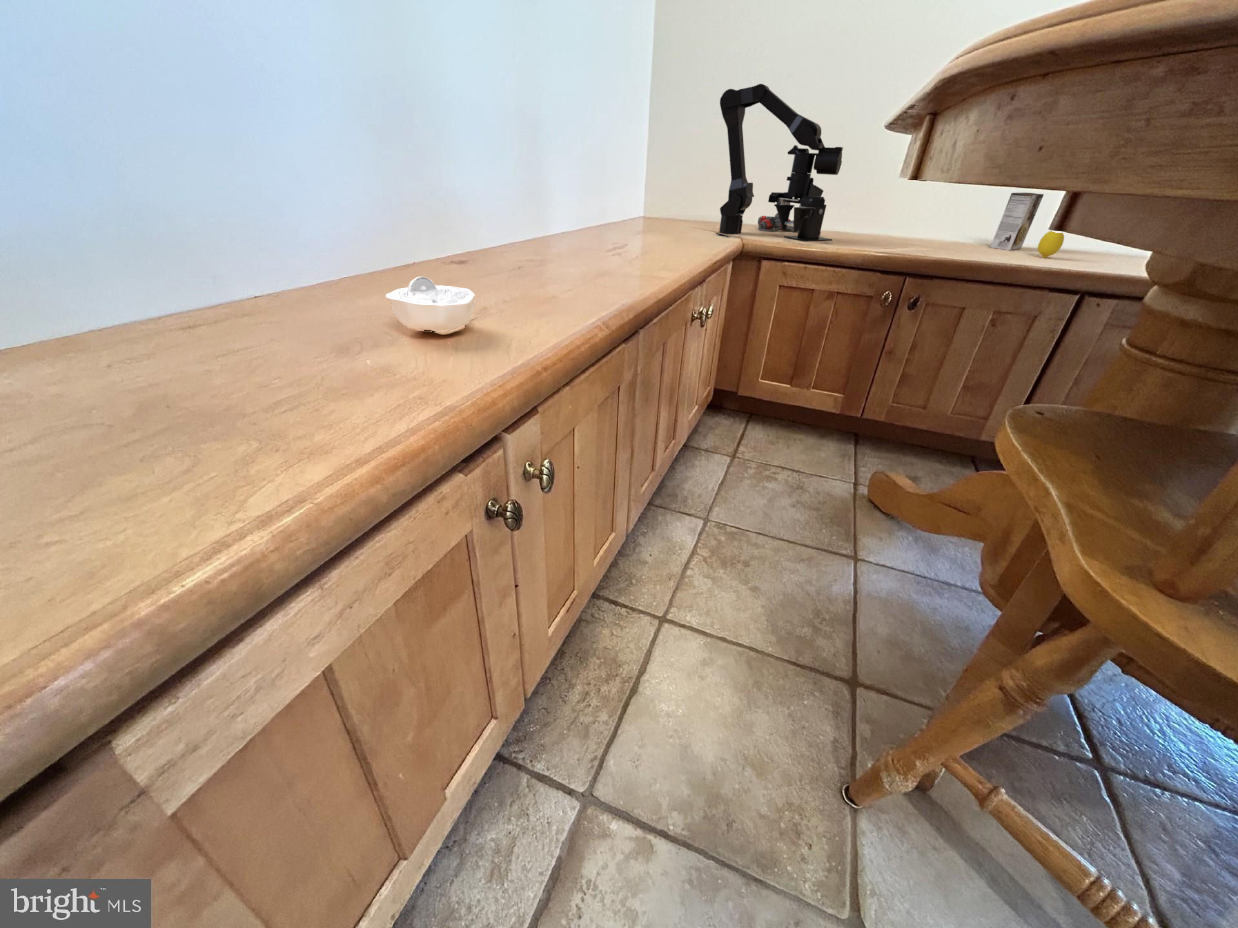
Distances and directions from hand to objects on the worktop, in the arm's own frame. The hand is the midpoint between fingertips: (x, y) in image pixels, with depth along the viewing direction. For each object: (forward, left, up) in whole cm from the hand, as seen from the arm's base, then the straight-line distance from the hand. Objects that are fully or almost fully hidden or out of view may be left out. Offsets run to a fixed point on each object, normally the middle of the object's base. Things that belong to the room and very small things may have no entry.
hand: (789, 231), depth 155 cm
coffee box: (+72, -24, -3) cm, 76 cm away
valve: (+13, +18, -3) cm, 23 cm away
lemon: (+63, -41, -3) cm, 75 cm away
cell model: (-114, -62, -3) cm, 130 cm away
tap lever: (+5, 0, +3) cm, 6 cm away
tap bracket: (+8, 0, -3) cm, 9 cm away
